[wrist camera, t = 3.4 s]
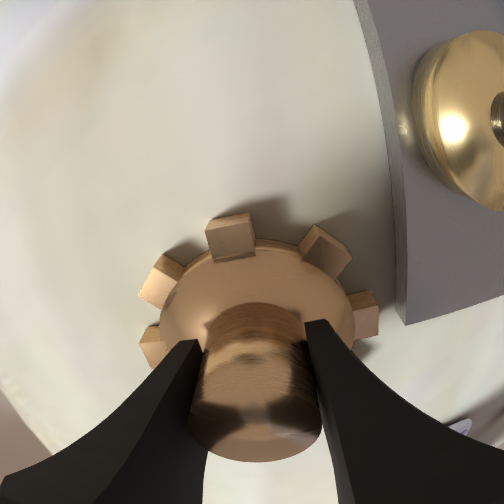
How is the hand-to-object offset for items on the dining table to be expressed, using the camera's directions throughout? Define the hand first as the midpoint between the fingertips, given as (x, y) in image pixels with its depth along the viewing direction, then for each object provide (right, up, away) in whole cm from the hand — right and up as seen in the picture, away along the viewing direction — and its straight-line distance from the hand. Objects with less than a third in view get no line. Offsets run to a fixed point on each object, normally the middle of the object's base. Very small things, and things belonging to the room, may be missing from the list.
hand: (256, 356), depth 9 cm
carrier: (+12, +9, -2) cm, 15 cm away
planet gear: (0, +1, +2) cm, 2 cm away
